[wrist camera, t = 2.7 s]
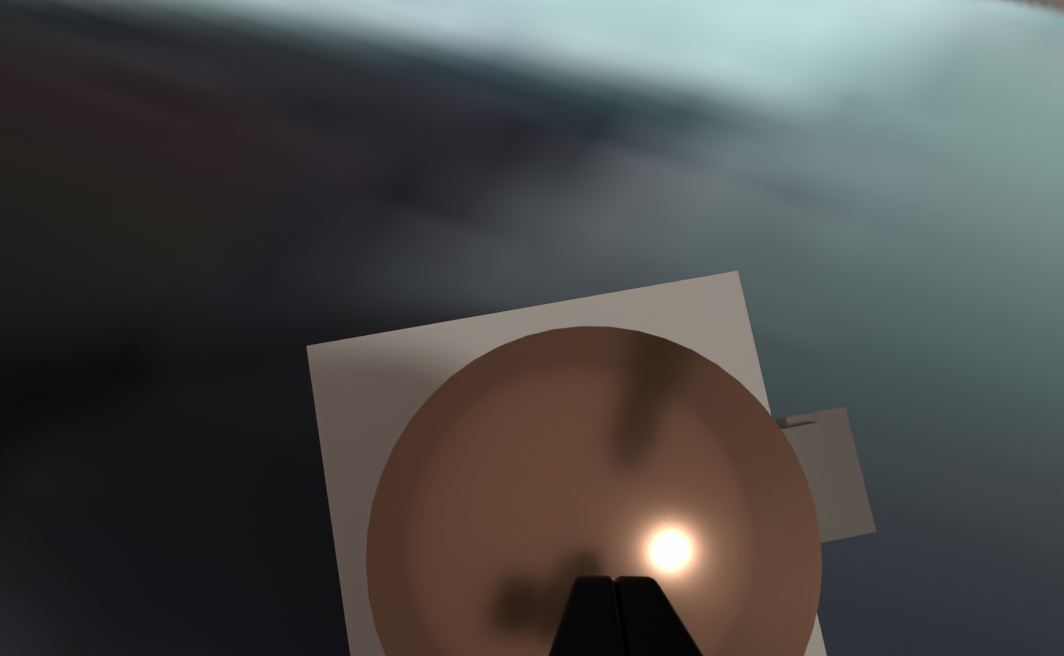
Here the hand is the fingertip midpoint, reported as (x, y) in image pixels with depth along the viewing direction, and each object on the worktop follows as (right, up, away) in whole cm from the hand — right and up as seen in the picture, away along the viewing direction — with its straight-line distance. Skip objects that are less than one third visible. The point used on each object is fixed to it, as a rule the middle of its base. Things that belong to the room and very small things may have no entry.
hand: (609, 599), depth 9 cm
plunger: (0, -1, +8) cm, 8 cm away
